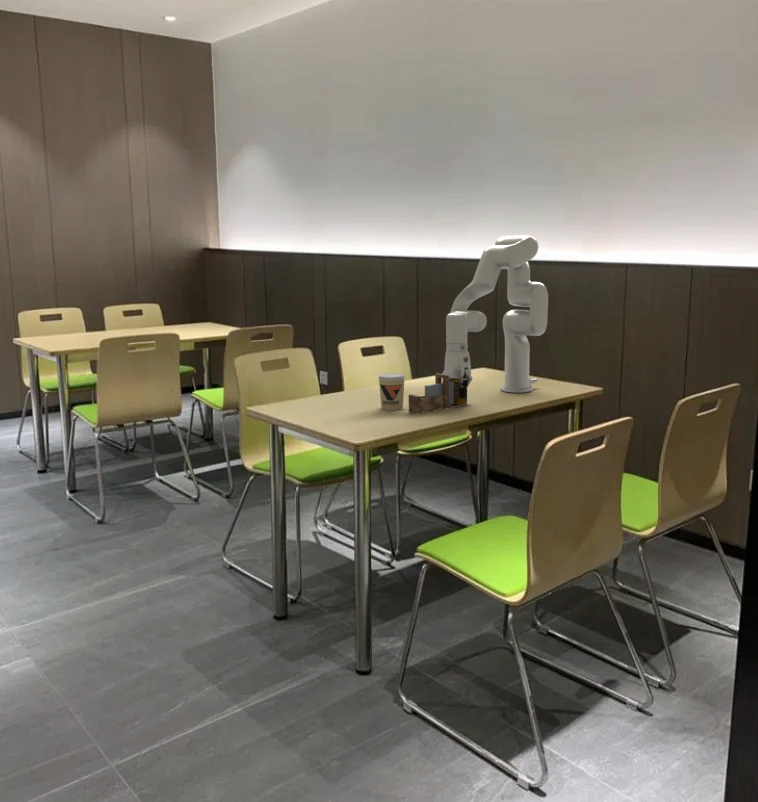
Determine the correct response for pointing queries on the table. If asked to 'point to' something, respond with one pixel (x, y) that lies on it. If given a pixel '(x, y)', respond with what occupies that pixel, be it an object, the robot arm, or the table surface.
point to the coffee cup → (391, 390)
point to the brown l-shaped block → (431, 398)
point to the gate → (439, 391)
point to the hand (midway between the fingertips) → (457, 396)
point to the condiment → (457, 400)
